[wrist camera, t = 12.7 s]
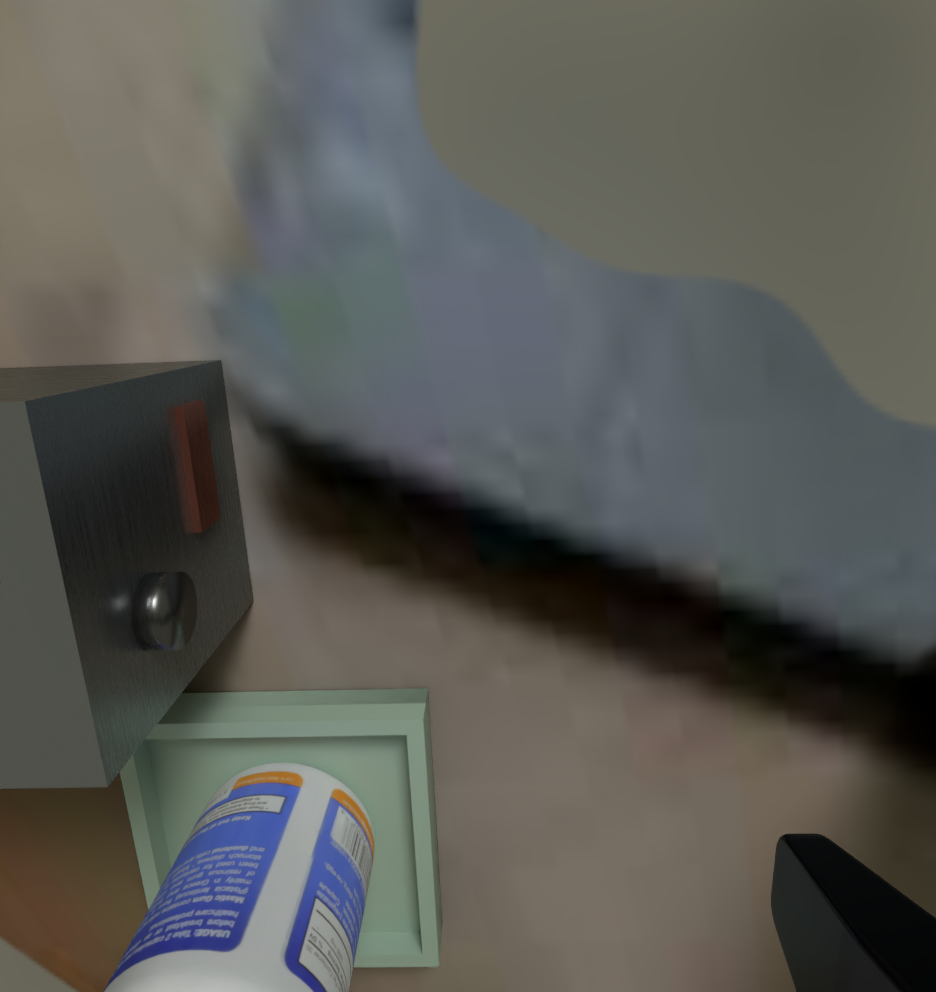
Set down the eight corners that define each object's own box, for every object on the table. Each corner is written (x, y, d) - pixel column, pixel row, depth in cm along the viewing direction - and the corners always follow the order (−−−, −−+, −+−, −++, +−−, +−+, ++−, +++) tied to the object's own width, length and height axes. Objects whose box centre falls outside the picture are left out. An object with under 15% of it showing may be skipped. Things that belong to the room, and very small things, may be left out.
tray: (428, 688, 21) (423, 719, 19) (442, 922, 23) (439, 966, 22) (137, 694, 21) (109, 724, 19) (182, 924, 23) (160, 968, 22)
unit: (242, 359, 18) (62, 400, 10) (273, 600, 20) (139, 786, 12) (-41, 370, 18) (-423, 417, 11) (15, 607, 20) (-274, 792, 13)
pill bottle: (183, 861, 22) (-48, 1285, 12) (239, 728, 20) (28, 1092, 11) (340, 921, 22) (234, 1373, 13) (406, 796, 21) (340, 1199, 11)
